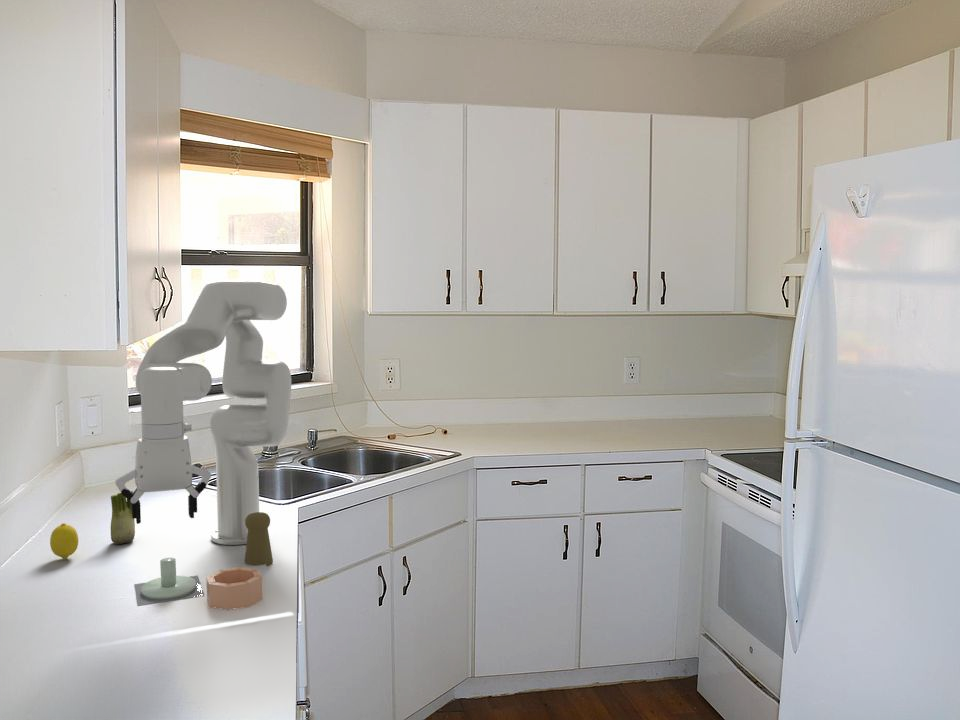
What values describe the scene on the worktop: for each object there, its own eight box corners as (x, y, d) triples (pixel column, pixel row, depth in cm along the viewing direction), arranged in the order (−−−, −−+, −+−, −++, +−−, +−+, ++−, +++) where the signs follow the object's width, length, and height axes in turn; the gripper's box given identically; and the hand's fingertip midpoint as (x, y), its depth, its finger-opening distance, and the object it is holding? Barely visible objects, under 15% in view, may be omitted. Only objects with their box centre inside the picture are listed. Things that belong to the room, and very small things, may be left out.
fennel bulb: (133, 537, 199) (131, 488, 198) (139, 543, 195) (137, 492, 194) (107, 542, 196) (105, 491, 195) (112, 547, 192) (110, 496, 191)
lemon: (71, 553, 188) (70, 518, 187) (83, 558, 185) (82, 522, 184) (46, 559, 184) (44, 523, 183) (58, 565, 180) (56, 528, 180)
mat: (134, 587, 168) (134, 584, 168) (197, 578, 173) (197, 575, 173) (137, 608, 157) (137, 605, 157) (204, 598, 162) (204, 595, 162)
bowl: (205, 597, 163) (204, 571, 162) (256, 589, 167) (255, 564, 166) (211, 615, 154) (211, 588, 154) (265, 606, 158) (264, 581, 158)
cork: (244, 569, 178) (242, 518, 177) (244, 559, 184) (242, 510, 183) (273, 566, 180) (272, 516, 179) (272, 557, 186) (271, 508, 184)
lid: (140, 585, 167) (138, 555, 167) (193, 577, 172) (192, 548, 171) (143, 603, 158) (141, 572, 158) (198, 594, 162) (197, 564, 162)
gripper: (207, 425, 169) (209, 510, 170) (113, 431, 161) (115, 519, 163) (212, 431, 162) (214, 519, 163) (114, 437, 155) (117, 529, 156)
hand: (165, 519), depth 163 cm, fingers open, 9 cm apart
